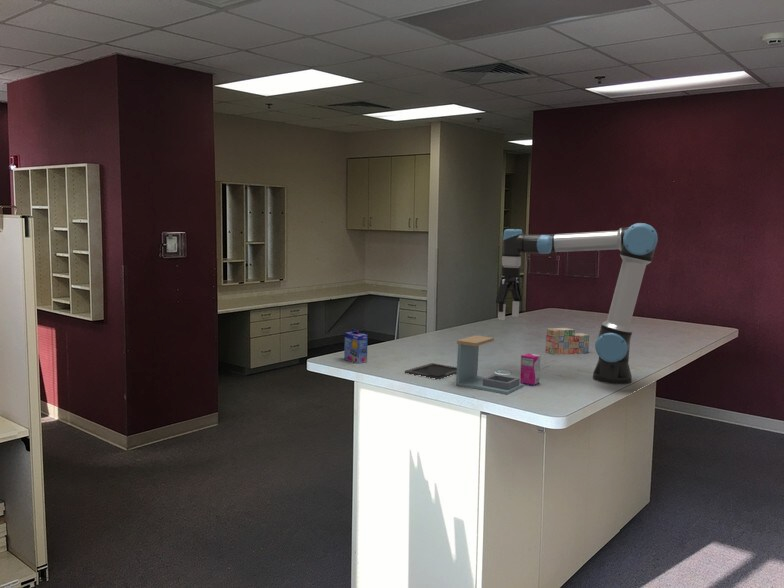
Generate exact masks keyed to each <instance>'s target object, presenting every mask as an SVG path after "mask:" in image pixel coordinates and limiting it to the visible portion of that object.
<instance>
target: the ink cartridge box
mask: <svg viewBox="0 0 784 588" xmlns="http://www.w3.org/2000/svg"><path fill="white" fill-rule="evenodd" d="M350 329H351V331H347V332H346V331H345V332H344V350H343V351H344V353H343V354H344V355H343V358H344V360H345V361H348V362H352V363H356V364H363V363H367V362H368V340H369V338H368V334H365V333H360V332H359V331H358V329H356V328H350Z"/></svg>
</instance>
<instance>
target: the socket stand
mask: <svg viewBox="0 0 784 588" xmlns="http://www.w3.org/2000/svg"><path fill="white" fill-rule="evenodd" d="M494 340H495V338H494V337H490V336H483V335H471V336H469V337H465V338H460V339H458V340H456V344H457V354H456V355H457V358H456V359H457V360H456V367H457V374H455V375H456V377H455V378H456V379H455V385H456V386H458V385H459V387H464V386H465V388H469V387H471V388H470V389H475V388H476V389H475V390H480V389H482V390H481V391H485V390H487V391H486V392H491V391H492V392H491V393H496V394H497V393H498V394H501V395H502V394H503V395H509V394H512V393H513V392H515V390H516V391H518V390H519V388H520V389H522V388H523V387H525V384H521V383H520V378H518V377H512V376H508V375H507V376H506V375H500V374H496V373H495V374H492V375H489V376H487V377H486V376H480V375H478V367H479V348H480V346H482V345H485V344H488V343H491V342H495V341H494Z"/></svg>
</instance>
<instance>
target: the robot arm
mask: <svg viewBox="0 0 784 588" xmlns="http://www.w3.org/2000/svg"><path fill="white" fill-rule="evenodd" d="M502 238H503V239H502V257H501V266H502V267H501V276H502V277H503V279H502V278H501V279H500V282H499V287H498V292H497V296H496V300H495V302H496V303H495V304H498V307H497V308H498V309H497V320H500V321H506V306H507V305H506V300H507V297H508V295H509V293H511V295H512V299H513V301H512V307H511V308H512V309H511V311H512V312H511V317H512V318H513V317H514V318H519V317H520V316H519V315H520V314H519V313H520V302H522V301H523V294H522V288H521V278H520V276H521V262H522V261H521V260H522V254H536V255H537V254H540V255H548V254H551V253H558V252H559V253H562V252H563V253H564V252H566V253H567V252H568V253H569V252H584V251H585V252H590V251H607V250H619V251H620V253H619V256H620V258H621V260H622V261H621V266H620V269H619V273H618V277H617V280H616V284H615V288H614V291H613V292H614V293H613V296H612V300H611V304H610V307H609V310H608V314H607V319H606V320H605V321H603V322H602V323H601V326H600V329H599V333H598V336H597V338H596V341H595V343H594V347H595V348H594V349H595V352H596V354H597V356H598V360H597V363H596V365H595V367H594V371H593V372H592V379H593V380H595V381H597V382H600V383H604V384H613V385H628V384H632V380H633V377H632V372H631V367H630V365H629V359H630V347H631V338H632V334H633V329H632V327H631V323H632V322H631V321H632V319H633V318H632V317H633V314H634V311H635V309H636V305H637V300H638V296H639V292H640V289H641V287H642V286H641V285H642V282H643V277H644V275H645V270H646V268H647V265H649V264H650V263H652V262H653V258H654V253H655V250H656V247H657V244H658V241H659V235H658V232H657V230H656V229H655V228H654V227H653V226H652V225H650V224H649V223H648V224H647V223H643V222H637V223H634V224H631V226H628V227H627V226H626V227H620V228H619V229H618V230H604V231H601V230H600V231H588V232H587V231H586V232H585V231H582V232H568V233H556V234H555V233H551V234H526V233H523V230H522V229H521V228H520V229H519V228H517V229H515V228H507V229H506V228H505V229H504V231H503V237H502Z"/></svg>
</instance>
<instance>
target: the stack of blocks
mask: <svg viewBox="0 0 784 588" xmlns="http://www.w3.org/2000/svg"><path fill="white" fill-rule="evenodd" d="M545 337H546V338H545V354H548V355H552V356H554V355H555V354H563V355H576V354H575V353H582V354H588V353H589V350H590V349H589V347H590V335H589V334H587V333H582V332H580V333H579V332H578V333H577V332H576V329H575V328H574V329H573V328H570V327H557V328H556V327H555V328H546V336H545ZM555 356H556V355H555Z"/></svg>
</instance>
